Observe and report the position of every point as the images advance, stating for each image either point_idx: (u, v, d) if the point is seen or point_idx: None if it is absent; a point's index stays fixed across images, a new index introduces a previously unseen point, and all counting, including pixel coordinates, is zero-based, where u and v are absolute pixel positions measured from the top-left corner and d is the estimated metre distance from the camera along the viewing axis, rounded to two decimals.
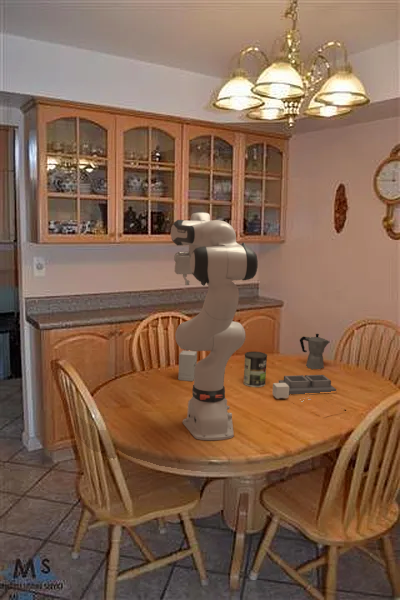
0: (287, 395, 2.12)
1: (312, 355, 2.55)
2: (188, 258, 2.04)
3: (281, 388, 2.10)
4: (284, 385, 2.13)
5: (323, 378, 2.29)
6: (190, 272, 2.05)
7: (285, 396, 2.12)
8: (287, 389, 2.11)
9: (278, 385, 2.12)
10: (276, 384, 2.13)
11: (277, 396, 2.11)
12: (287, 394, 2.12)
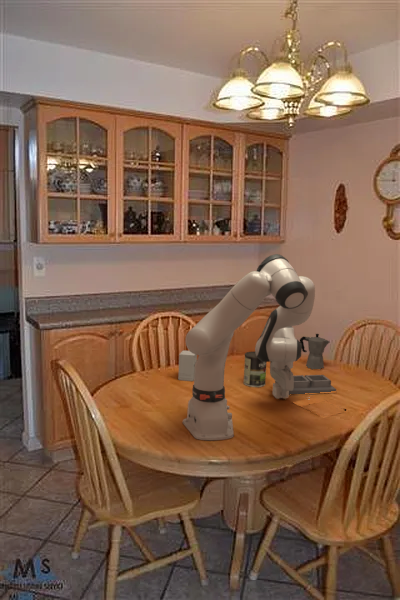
0: (287, 395, 2.12)
1: (312, 355, 2.55)
2: None
3: (281, 388, 2.10)
4: None
5: (323, 378, 2.29)
6: None
7: (285, 396, 2.12)
8: None
9: (278, 385, 2.12)
10: (276, 384, 2.13)
11: (277, 396, 2.11)
12: (287, 394, 2.12)
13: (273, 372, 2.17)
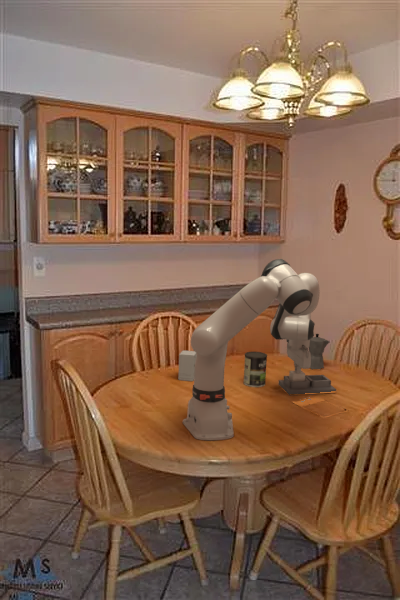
0: None
1: (312, 355, 2.55)
2: None
3: (297, 375, 2.22)
4: None
5: (323, 378, 2.29)
6: None
7: None
8: (303, 376, 2.22)
9: (294, 372, 2.23)
10: (292, 371, 2.24)
11: None
12: None
13: (290, 352, 2.28)
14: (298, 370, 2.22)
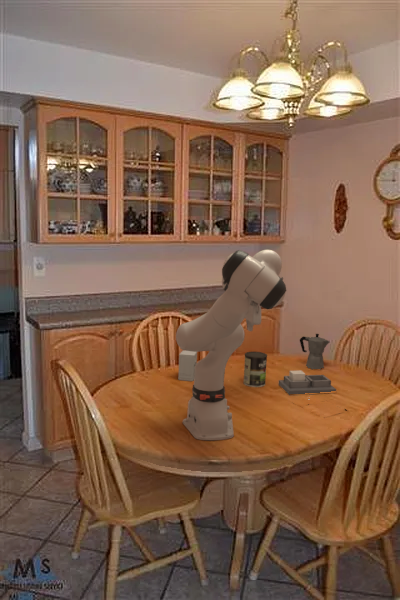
0: None
1: (312, 355, 2.55)
2: None
3: (297, 375, 2.22)
4: (300, 372, 2.24)
5: (323, 378, 2.29)
6: None
7: None
8: (303, 376, 2.22)
9: (294, 372, 2.23)
10: (292, 371, 2.24)
11: None
12: None
13: None
14: (250, 328, 2.09)
